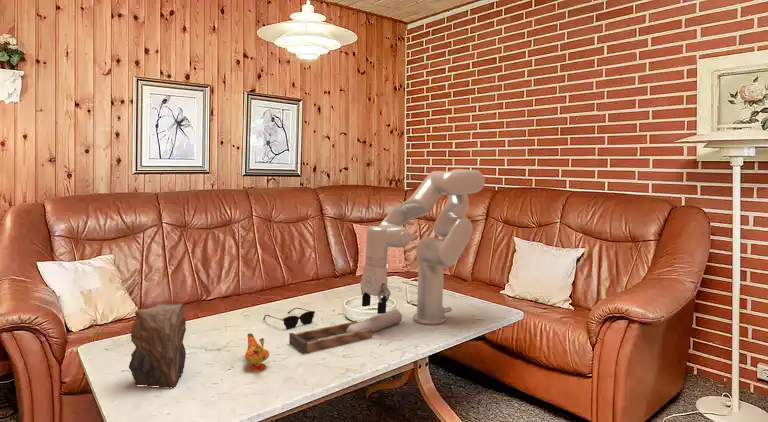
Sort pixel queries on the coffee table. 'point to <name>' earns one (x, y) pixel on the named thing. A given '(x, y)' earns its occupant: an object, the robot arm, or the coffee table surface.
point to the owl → (158, 345)
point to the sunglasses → (296, 319)
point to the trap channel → (309, 342)
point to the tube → (377, 322)
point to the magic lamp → (256, 354)
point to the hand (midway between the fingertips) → (373, 309)
